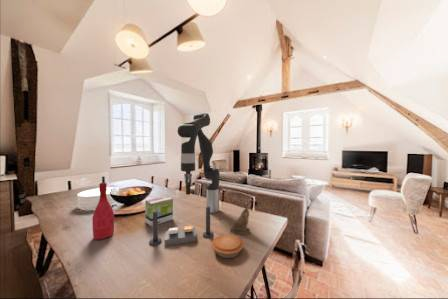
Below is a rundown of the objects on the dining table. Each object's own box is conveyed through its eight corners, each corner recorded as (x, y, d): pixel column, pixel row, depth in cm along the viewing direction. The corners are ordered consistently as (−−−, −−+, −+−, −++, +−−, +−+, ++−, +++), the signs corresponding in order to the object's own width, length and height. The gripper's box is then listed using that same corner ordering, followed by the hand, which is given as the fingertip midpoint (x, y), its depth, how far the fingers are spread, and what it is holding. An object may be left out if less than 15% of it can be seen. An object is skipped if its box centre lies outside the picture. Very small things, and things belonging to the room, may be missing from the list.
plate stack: (92, 200, 155) (92, 187, 155) (124, 198, 158) (124, 187, 158) (68, 211, 127) (67, 197, 127) (107, 210, 131) (106, 195, 130)
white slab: (177, 229, 93) (177, 227, 93) (177, 233, 87) (177, 230, 87) (169, 230, 92) (169, 228, 92) (168, 234, 86) (168, 231, 86)
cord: (162, 238, 91) (161, 209, 91) (160, 244, 85) (160, 213, 85) (150, 239, 89) (149, 210, 89) (148, 246, 84) (147, 215, 83)
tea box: (151, 227, 103) (151, 203, 103) (144, 222, 110) (144, 200, 110) (173, 219, 114) (173, 198, 114) (166, 215, 121) (165, 195, 121)
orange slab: (192, 227, 95) (191, 225, 95) (192, 231, 89) (192, 228, 89) (184, 228, 94) (184, 226, 94) (184, 232, 88) (184, 229, 88)
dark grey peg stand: (212, 231, 98) (212, 204, 98) (214, 237, 92) (214, 208, 92) (202, 233, 97) (202, 205, 96) (203, 238, 91) (203, 209, 90)
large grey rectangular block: (195, 232, 97) (194, 226, 97) (196, 241, 88) (196, 233, 88) (166, 236, 93) (166, 229, 93) (164, 245, 84) (164, 238, 84)
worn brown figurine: (250, 235, 99) (256, 206, 97) (247, 240, 94) (254, 210, 92) (231, 227, 103) (237, 200, 102) (228, 231, 98) (235, 202, 96)
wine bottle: (90, 242, 87) (89, 185, 86) (95, 233, 96) (94, 182, 95) (113, 237, 91) (112, 183, 91) (115, 229, 100) (114, 180, 99)
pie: (249, 257, 76) (249, 247, 75) (215, 264, 71) (215, 253, 71) (236, 239, 90) (236, 230, 90) (208, 244, 86) (208, 234, 86)
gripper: (196, 162, 83) (196, 197, 83) (194, 160, 96) (194, 190, 96) (180, 163, 81) (180, 198, 81) (180, 160, 94) (180, 191, 94)
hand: (188, 194), depth 89 cm, fingers closed
